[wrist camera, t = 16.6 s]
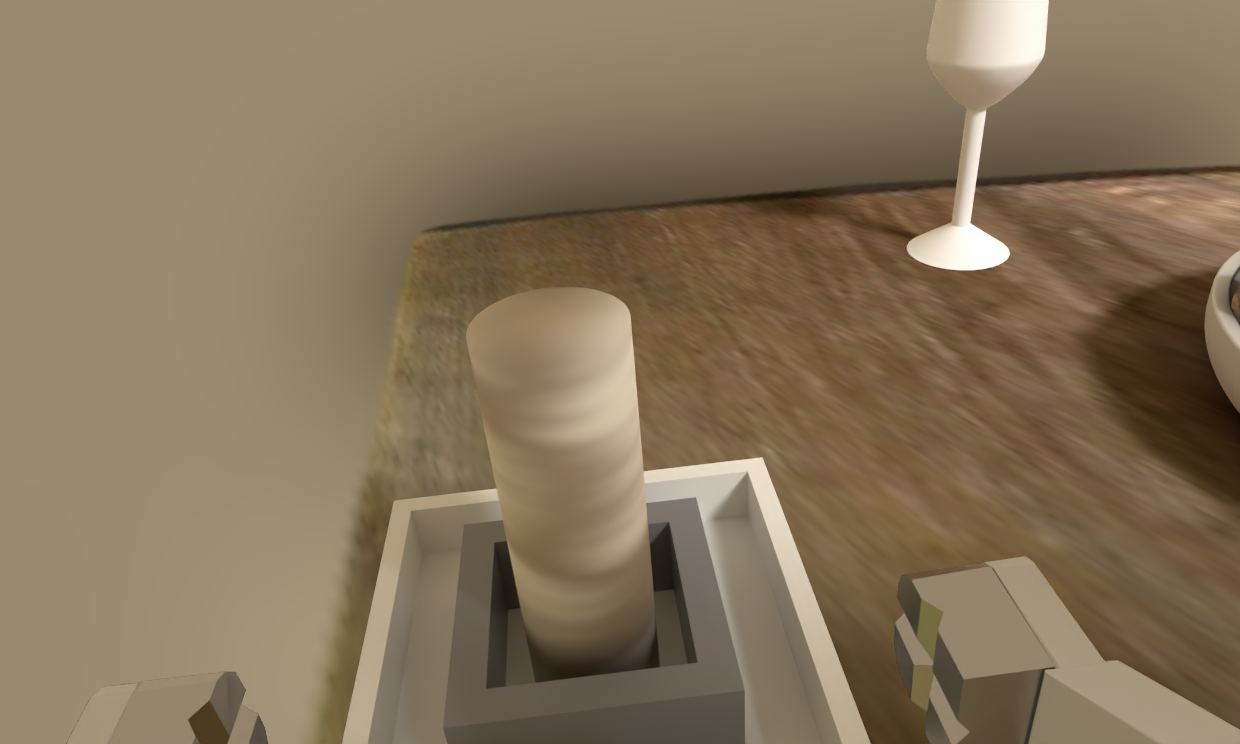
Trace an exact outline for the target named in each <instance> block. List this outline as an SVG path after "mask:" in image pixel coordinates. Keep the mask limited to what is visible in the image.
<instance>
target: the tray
mask: <svg viewBox="0 0 1240 744" xmlns="http://www.w3.org/2000/svg"><path fill="white" fill-rule="evenodd" d="M644 483H645V495H646V507H647V519H648V530H649V542H650V554H651V566H652V578H653V590H654V602H655V613H656V625H657V637H658V649H659V661H660V667H658V668H650V669H642V670H634V671H626V672H618V673H610V674H602V675H594V676H586V677H578V678H570V679H562V680H554V681H546V682H538V683H535V678H534V673H533V668H532V663H531V658H530V653H529V648H528V643H527V638H526V633H525V628H524V623H523V618H522V613H521V608H520V603H519V598H518V593H517V588H516V583H515V578H514V573H513V568H512V563H511V558H510V553H509V548H508V543H507V538H506V534H505V529H504V524H503V519H502V514H501V509H500V504H499V499H498V494H497V489H489V490H480V491H472V492H463V493H455V494H446V495H437V496H429V497H420V498H412V499H403V500H395V501H394V503H393V508H392V512H391V517H390V522H389V526H388V531H387V536H386V540H385V545H384V550H383V554H382V559H381V564H380V568H379V573H378V577H377V582H376V587H375V591H374V596H373V601H372V605H371V610H370V615H369V619H368V624H367V629H366V633H365V638H364V643H363V647H362V652H361V657H360V661H359V666H358V671H357V675H356V680H355V685H354V689H353V694H352V699H351V703H350V708H349V713H348V717H347V722H346V727H345V731H344V736H343V741H342V744H871V743H870V741H869V738H868V735H867V733H866V730H865V727H864V725H863V722H862V720H861V717H860V714H859V712H858V709H857V706H856V704H855V701H854V698H853V696H852V693H851V690H850V688H849V685H848V683H847V680H846V677H845V675H844V672H843V669H842V667H841V664H840V661H839V659H838V656H837V653H836V651H835V648H834V646H833V643H832V640H831V638H830V635H829V632H828V630H827V627H826V624H825V622H824V619H823V617H822V614H821V611H820V609H819V606H818V603H817V601H816V598H815V595H814V593H813V590H812V587H811V585H810V582H809V580H808V577H807V574H806V572H805V569H804V566H803V564H802V561H801V558H800V556H799V553H798V550H797V548H796V545H795V543H794V540H793V537H792V535H791V532H790V529H789V527H788V524H787V521H786V519H785V516H784V514H783V511H782V508H781V506H780V503H779V500H778V498H777V495H776V492H775V490H774V487H773V484H772V482H771V479H770V477H769V474H768V471H767V469H766V466H765V463H764V461H763V458H754V459H746V460H737V461H728V462H720V463H711V464H703V465H694V466H686V467H677V468H669V469H660V470H651V471H644Z"/></svg>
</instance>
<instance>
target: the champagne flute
mask: <svg viewBox="0 0 1240 744" xmlns="http://www.w3.org/2000/svg"><path fill="white" fill-rule="evenodd" d="M1048 3H1049V0H936V5H935V10H934V15H933V20H932V25H931V31H930V36H929V41H928V46H927V51H926V56H927V62H928V64H929V67H930V69H931V71H932V73H933V74H934V76H935V78H936V79H937V81H938V82H939V83H940V84H941V85H942V86H943V88H944V89H945V90H946V91H947V92H948V93H949V94H950V95H951V96H952V97H953V98H954V99H955V101H957V102H958V103H960V104H961V105H963V106H964V107H966V108H967V109H966V117H965V125H964V132H963V140H962V147H961V155H960V163H959V171H958V178H957V186H956V193H955V201H954V209H953V216H952V222H951V223H949V224H946V225H944V226H941V227H939V228H937V229H934V230H932V231H929V232H927V233H924V234H922V235H919V236H917V237H915V238H913V239H912V240H911V241H909V243H908V244H907V251H908V253H909V254H910V255H911V256H912V257H913V258H914V259H916V260H918V261H920V262H922V263H924V264H927V265H930V266H934V267H938V268H943V269H951V270H979V269H986V268H990V267H994V266H997V265H999V264H1001V263H1003V262H1005V261H1006V260H1007V259H1008V257H1009V255H1010V253H1009V249H1008V248H1007V246H1006V245H1004V244H1003V243H1002V242H1000V241H999V240H997V239H995V238H994V237H992V236H990V235H989V234H987V233H985V232H983V231H982V230H980V229H978V228H977V227H975V226H973V225H972V224H970V221H971V213H972V206H973V199H974V192H975V185H976V178H977V171H978V164H979V157H980V150H981V143H982V136H983V128H984V122H985V115H986V108H988V107H990V106H992V105H994V104H996V103H998V102H1000V101H1001V100H1002V99H1003V98H1005V97H1006V96H1007V95H1008V94H1010V93H1011V92H1012V91H1013V90H1015V89H1016V88H1017V87H1018V86H1020V85H1021V84H1022V83H1023V82H1025V80H1026V79H1027V78H1028V77H1029V76H1030V75H1031V74H1032V73H1033V72H1034V70H1035V69H1036V67H1037V66H1038V65H1039V63H1040V62H1041V60H1042V58H1043V55H1044V52H1045V43H1046V29H1047V16H1048Z"/></svg>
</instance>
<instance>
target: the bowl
mask: <svg viewBox="0 0 1240 744" xmlns="http://www.w3.org/2000/svg"><path fill="white" fill-rule="evenodd" d="M1205 340H1206V346H1207V350H1208V354H1209V358H1210V361H1211V364H1212V367H1213V369H1214V372H1215V374H1216V377H1217V379H1218V381H1219V383H1220V384H1221V386H1222V388H1223V390H1224V392H1225V393H1226V395H1227V396H1228V398H1229V399H1230V401H1231V402H1232V404H1233V405H1234V407H1235V408H1236V409H1237V411H1238V412H1239V413H1240V250H1239V251H1238V252H1236V253H1235V254H1234V255H1233V256H1231V257H1230V258H1229V259H1228V260H1227V261H1226V262H1225V263H1224V264H1223V265H1222V267H1221V268H1220V269H1219V271H1218V273H1217V275H1216V277H1215V279H1214V282H1213V285H1212V288H1211V291H1210V295H1209V298H1208V302H1207V306H1206V313H1205Z"/></svg>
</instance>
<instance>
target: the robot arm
mask: <svg viewBox="0 0 1240 744" xmlns="http://www.w3.org/2000/svg"><path fill="white" fill-rule="evenodd" d="M897 598H898V600H899V602H900V604H901V606H902V608H903V611H904V614H903V615H902V616H901V617H900V618H899V619H898V620H897V621H896V622H895V634H894V645H895V651H896V658H897V664H898V668H899V671H900V674H901V677H902V680H903V683H904V685H905V688H906V690H907V692H908V695H909V697H910V699H911V701H913V702H914V703H916V704H917V705H918V706H920V707H921V708H923V709H924V710H925V711H927V719H926V729H925V733H926V736H927V738H928V740H929V742H930V744H1240V730H1239V729H1238V728H1236V727H1234V726H1232V725H1231V724H1229V723H1227V722H1225V721H1224V720H1222V719H1220V718H1218V717H1217V716H1215V715H1213V714H1211V713H1210V712H1208V711H1206V710H1204V709H1203V708H1201V707H1199V706H1197V705H1196V704H1194V703H1192V702H1190V701H1189V700H1187V699H1185V698H1183V697H1182V696H1180V695H1178V694H1176V693H1175V692H1173V691H1171V690H1169V689H1168V688H1166V687H1164V686H1162V685H1161V684H1159V683H1157V682H1155V681H1153V680H1152V679H1150V678H1148V677H1146V676H1145V675H1143V674H1141V673H1139V672H1138V671H1136V670H1134V669H1132V668H1131V667H1129V666H1127V665H1125V664H1124V663H1122V662H1120V661H1118V660H1114V661H1104V660H1103V658H1102V657H1101V655H1100V654H1099V653H1098V651H1097V650H1096V648H1095V647H1094V646H1093V644H1092V643H1091V641H1090V640H1089V639H1088V637H1087V636H1086V634H1085V633H1084V632H1083V630H1082V629H1081V627H1080V626H1079V625H1078V623H1077V622H1076V620H1075V619H1074V618H1073V616H1072V615H1071V614H1070V612H1069V611H1068V609H1067V608H1066V607H1065V605H1064V604H1063V602H1062V601H1061V600H1060V598H1059V597H1058V595H1057V594H1056V593H1055V591H1054V590H1053V588H1052V587H1051V586H1050V584H1049V583H1048V581H1047V580H1046V579H1045V577H1044V576H1043V574H1042V573H1041V572H1040V570H1039V569H1038V567H1037V566H1036V565H1035V563H1034V562H1033V561H1031V560H1030V559H1028V558H1027V557H1018V558H1011V559H1004V560H998V561H991V562H985V563H983V564H981V563H975V564H969V565H962V566H956V567H949V568H943V569H936V570H930V571H923V572H917V573H910V574H904V575H902V577H901V579H900V581H899V585H898V594H897ZM245 691H246V690H245V688H244V686H243V684H242V683H241V681H240V679H239V677H238V676H237V674H236V673H235V672H218V673H210V674H201V675H192V676H184V677H175V678H167V679H158V680H149V681H144V682H137V683H129V684H122V685H121V684H120V685H112V686H104V687H102V688H101V689H100V690H99V691H98V692H96V693H95V694H94V695H93V696H92V697H91V698H90V700H89V701H88V703H87V705H86V707H85V709H84V711H83V713H82V714H81V716H80V718H79V720H78V722H77V724H76V726H75V728H74V729H73V732H72V733H71V735H70V737H69V739H68V741H67V743H66V744H268V741H267V736H266V731H265V727H264V725H263V723H262V721H261V719H260V717H259V715H258V713H256V712H254V711H252V710H250V709H248V708H246V707H245V706H243V705H241V702H242V700H243V697H244V694H245Z"/></svg>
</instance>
